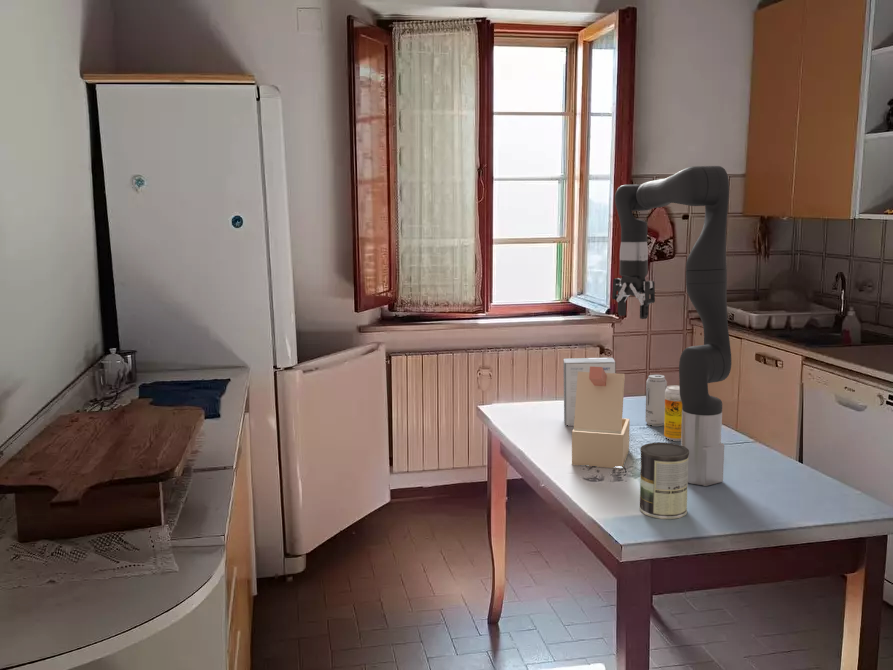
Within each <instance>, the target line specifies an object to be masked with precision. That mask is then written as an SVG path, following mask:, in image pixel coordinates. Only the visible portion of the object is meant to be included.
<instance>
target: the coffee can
mask: <svg viewBox="0 0 893 670" xmlns="http://www.w3.org/2000/svg"><path fill="white" fill-rule="evenodd" d="M688 456H689V450H688V449H687V448H686V447H684V446H681V444H678V443H672V442H649V443H646V444H643V445H641V446H640V477H639V479H640V481H639V483H640V485H639V488H640V489H639V511H640V512H641V513H642V514H643V515H646V516H648V517H650V518H654V519H660V520H675V519H681V518H683V517H685V516H687V513H688V510H687V509H688V508H687V507H688V487H689V486H688V484H689V483H688Z"/></svg>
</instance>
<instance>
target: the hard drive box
mask: <svg viewBox="0 0 893 670" xmlns="http://www.w3.org/2000/svg"><path fill="white" fill-rule="evenodd" d="M616 364H617V362H616V361H615V359H614V357H580V358H578V357H577V358H575V357H573V358H571V357H570V358H563V422H564V426H565V425H568V426H567V427H574V417H575V403H576V390H577V376H578V372H590V366H591V367H602V368H603V369H604V371H605V373H617V365H616Z"/></svg>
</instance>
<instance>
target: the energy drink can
mask: <svg viewBox="0 0 893 670" xmlns="http://www.w3.org/2000/svg"><path fill="white" fill-rule="evenodd" d="M645 386H646V387H645V417H644V419H645V422H646V424H647V425H648V426H650V425H652V426H651V427H664V417H665V390H666V388H667V386H668V381H667V379H666V376H665V375H663V374H649V375H648V378H647V379H646V382H645Z"/></svg>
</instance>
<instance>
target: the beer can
mask: <svg viewBox="0 0 893 670" xmlns="http://www.w3.org/2000/svg"><path fill="white" fill-rule="evenodd" d="M663 427H664V428H663V437H665V439H666V438H667V439H666V440H668V439H669V440H668V441H671V440H673V442H681V432H682V401H681V398H680V389H679V385H677V384H676V385H674V384H673V385H672V384H671V385H667V388H666V390H665V417H664V425H663Z"/></svg>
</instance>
